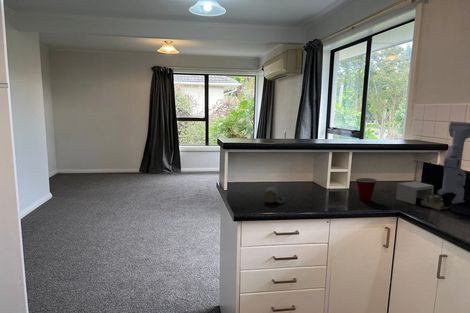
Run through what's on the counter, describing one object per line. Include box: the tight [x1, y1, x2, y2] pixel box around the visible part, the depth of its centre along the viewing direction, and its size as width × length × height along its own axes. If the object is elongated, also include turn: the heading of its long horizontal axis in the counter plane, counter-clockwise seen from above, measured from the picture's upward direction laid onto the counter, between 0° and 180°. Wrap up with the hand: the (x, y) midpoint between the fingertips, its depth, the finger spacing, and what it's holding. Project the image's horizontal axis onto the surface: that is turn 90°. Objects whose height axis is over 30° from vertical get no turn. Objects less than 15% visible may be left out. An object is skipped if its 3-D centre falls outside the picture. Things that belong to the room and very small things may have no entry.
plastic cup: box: [355, 177, 378, 203], centre depth 176 cm, size 11×11×12 cm
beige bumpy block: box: [420, 193, 450, 211], centre depth 168 cm, size 8×10×6 cm
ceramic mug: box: [263, 186, 285, 204], centre depth 169 cm, size 11×8×8 cm
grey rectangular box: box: [395, 181, 435, 205], centre depth 178 cm, size 15×11×9 cm
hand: (446, 206), depth 163 cm, fingers closed
